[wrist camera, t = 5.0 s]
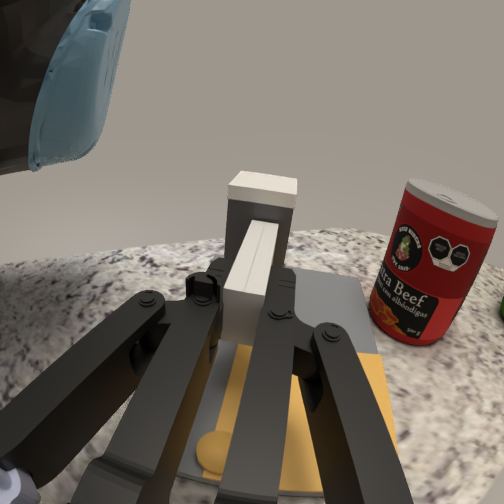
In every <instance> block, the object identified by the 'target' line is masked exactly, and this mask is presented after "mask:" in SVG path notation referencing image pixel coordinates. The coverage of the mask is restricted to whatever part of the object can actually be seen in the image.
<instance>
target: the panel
mask: <svg viewBox="0 0 504 504" xmlns="http://www.w3.org/2000/svg"><path fill="white" fill-rule="evenodd" d="M218 257H221V258H224V256H222V255H217V254H215V256H214V258H213V260H212V261H214V260H215V259H217V258H218ZM283 267H284V268H290V269H292V270H293V271H294V273H295V274H296V288H295V307H294V310H295V314H296V316H297V317H298V318H299V320H301V321H302V322H303V323H305V324H307V325H310V326H312V327H316V326H317V325H319V324H320V323H325V322H330V323H335V324H337V325H340V326H341V327H343V328H344V329H345V330H346V332H347V333H348V335H349V337H350V339H351V341H352V344H353V346H354V348H355V350H356V353H357V355H358V357H359V360H360V362H361V364H362V367H363V369H364V371H365V374H366V376H367V378H368V381H369V383H370V386H371V388H372V390H373V393H374V395H375V398H376V400H377V403H378V405H379V408H380V410H381V413H382V415H383V418H384V420H385V423H386V426H387V428H388V431H389V433H390V436H391V439H392V442H393V444H394V447H395V450H396V452H397V444H396V436H395V429H394V422H393V416H392V409H391V404H390V398H389V392H388V387H387V382H386V377H385V372H384V367H383V363H382V358H381V355H380V354H378V351H377V347H376V342H375V338H374V334H373V330H372V326H371V322H370V318H369V314H368V310H367V306H366V302H365V299H364V295H363V292H362V288H361V284H360V281H359V278H356V277H350V276H344V275H337V274H331V273H325V272H319V271H313V270H306V269H300V268H294V267H288V266H285V264H284V265H283ZM252 347H253V346H248V345H242V344H237V343H232V342H227V341H222V340H221V335H220V338H219V341H218V351H217V354H216V357H215V360H214V363H213V366H212V369H211V372H210V375H209V378H208V381H207V384H206V387H205V390H204V393H203V396H202V399H201V402H200V405H199V408H198V411H197V414H196V417H195V420H194V423H193V426H192V429H191V432H190V435H189V438H188V441H187V444H186V447H185V450H184V453H183V456H182V459H181V462H180V465H179V468H178V471H177V474H176V475H177V476H181V477H184V478H188V479H192V480H196V481H200V482H204V483H208V484H212V485H217V486H220V482H221V478H222V474H223V470H224V466H225V462H226V458H227V454H228V450H229V446H230V442H231V438H232V434H233V430H234V426H235V421H236V417H237V413H238V409H239V404H240V400H241V396H242V392H243V387H244V383H245V379H246V374H247V370H248V365H249V361H250V356H251V352H252ZM397 455H398V452H397ZM278 495H288V496H308V497H324V494H323V489H322V484H321V480H320V475H319V470H318V466H317V461H316V457H315V452H314V448H313V443H312V439H311V434H310V430H309V425H308V421H307V417H306V412H305V408H304V404H303V399H302V395H301V391H300V386H299V382H298V376H295V375H293V374H292V380H291V391H290V402H289V412H288V422H287V431H286V439H285V448H284V456H283V463H282V471H281V478H280V485H279V492H278Z"/></svg>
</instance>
